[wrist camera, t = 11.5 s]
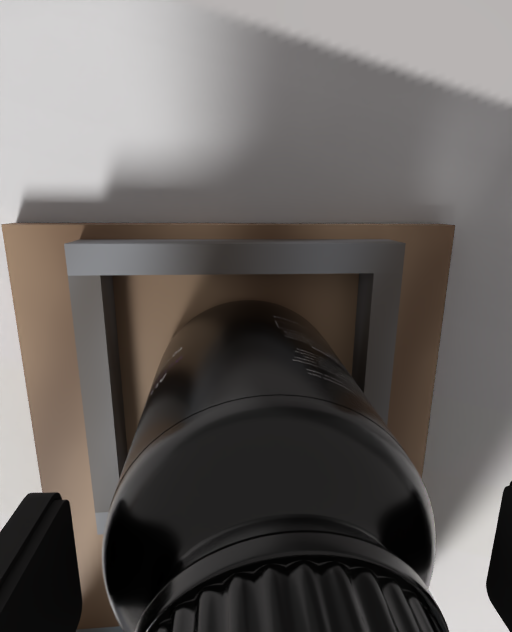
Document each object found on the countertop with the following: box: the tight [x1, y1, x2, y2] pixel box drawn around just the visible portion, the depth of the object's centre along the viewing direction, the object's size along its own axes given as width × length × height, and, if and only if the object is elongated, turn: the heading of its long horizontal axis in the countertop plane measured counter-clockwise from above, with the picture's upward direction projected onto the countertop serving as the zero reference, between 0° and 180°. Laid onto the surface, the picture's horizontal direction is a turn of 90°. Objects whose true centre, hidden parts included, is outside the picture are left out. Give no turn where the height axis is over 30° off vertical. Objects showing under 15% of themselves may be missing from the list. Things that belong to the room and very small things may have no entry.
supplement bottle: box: [102, 300, 449, 632], centre depth 11 cm, size 7×7×12 cm
